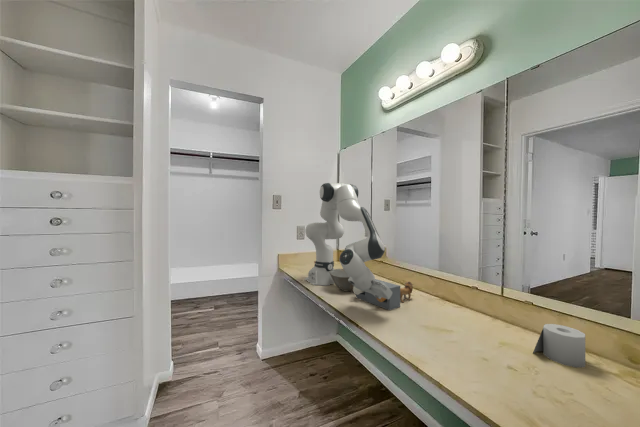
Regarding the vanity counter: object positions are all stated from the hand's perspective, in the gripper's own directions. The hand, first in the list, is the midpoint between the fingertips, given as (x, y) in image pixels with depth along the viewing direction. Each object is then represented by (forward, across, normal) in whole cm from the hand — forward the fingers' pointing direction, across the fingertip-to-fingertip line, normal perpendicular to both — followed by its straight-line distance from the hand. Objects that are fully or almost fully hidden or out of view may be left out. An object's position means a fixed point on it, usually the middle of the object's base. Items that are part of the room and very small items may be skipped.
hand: (378, 297), depth 117 cm
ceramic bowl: (+11, +32, -3) cm, 34 cm away
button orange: (+4, 0, 0) cm, 4 cm away
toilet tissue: (+14, -59, -6) cm, 61 cm away
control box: (+8, +7, -1) cm, 11 cm away
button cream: (+3, +14, +1) cm, 14 cm away
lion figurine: (+18, +1, -10) cm, 21 cm away
